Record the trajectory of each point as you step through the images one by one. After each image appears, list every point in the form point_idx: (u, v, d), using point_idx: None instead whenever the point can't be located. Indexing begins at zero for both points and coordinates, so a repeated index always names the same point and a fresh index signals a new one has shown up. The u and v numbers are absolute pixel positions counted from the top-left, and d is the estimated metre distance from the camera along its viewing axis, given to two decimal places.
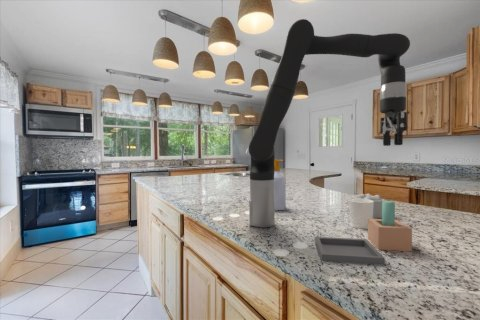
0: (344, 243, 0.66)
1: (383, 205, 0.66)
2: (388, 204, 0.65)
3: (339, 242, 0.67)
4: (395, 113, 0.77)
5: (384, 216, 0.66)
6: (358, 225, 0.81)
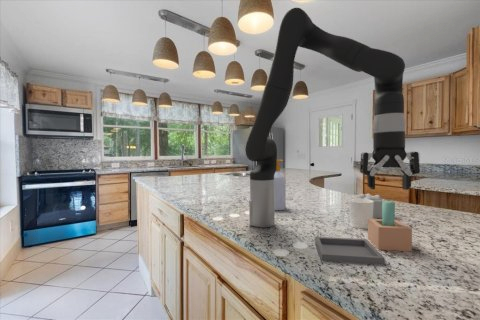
0: (344, 243, 0.66)
1: (383, 205, 0.66)
2: (388, 204, 0.65)
3: (339, 242, 0.67)
4: (405, 152, 0.64)
5: (384, 216, 0.66)
6: (358, 225, 0.81)
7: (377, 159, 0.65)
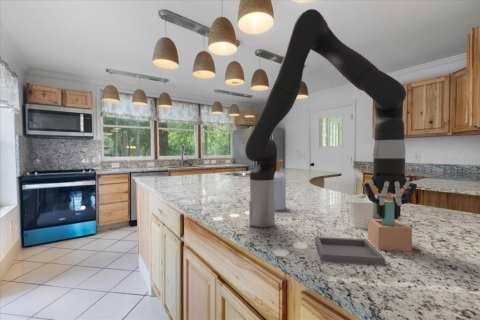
0: (344, 243, 0.66)
1: None
2: (388, 204, 0.65)
3: (339, 242, 0.67)
4: None
5: (384, 216, 0.66)
6: (358, 225, 0.81)
7: (379, 187, 0.65)
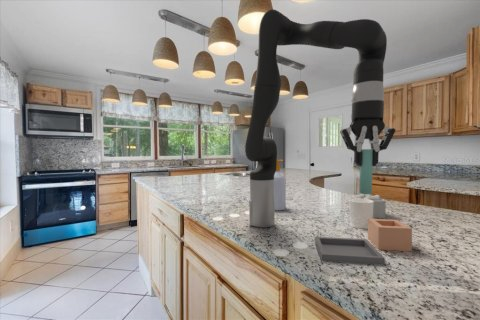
0: (344, 243, 0.66)
1: None
2: (366, 150, 0.62)
3: (339, 242, 0.67)
4: (384, 124, 0.62)
5: None
6: (358, 225, 0.81)
7: (357, 133, 0.63)
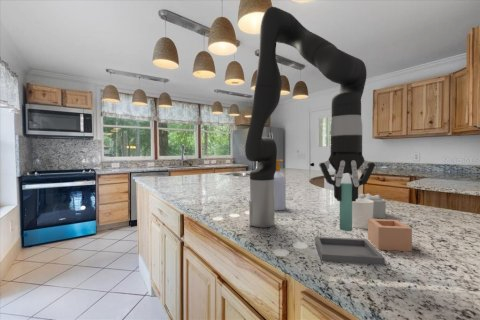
0: (344, 243, 0.66)
1: None
2: (345, 185, 0.60)
3: (339, 242, 0.67)
4: None
5: (341, 199, 0.61)
6: (358, 225, 0.81)
7: (335, 168, 0.61)
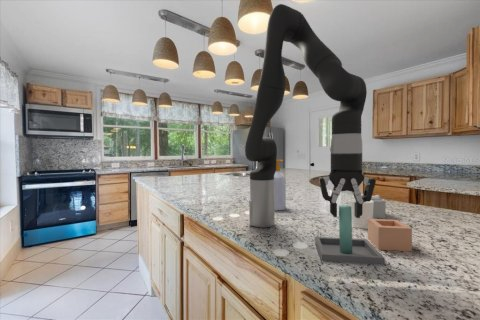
0: None
1: (339, 210, 0.61)
2: (344, 209, 0.60)
3: (339, 242, 0.67)
4: (363, 175, 0.60)
5: (340, 222, 0.61)
6: (358, 225, 0.81)
7: (334, 184, 0.61)
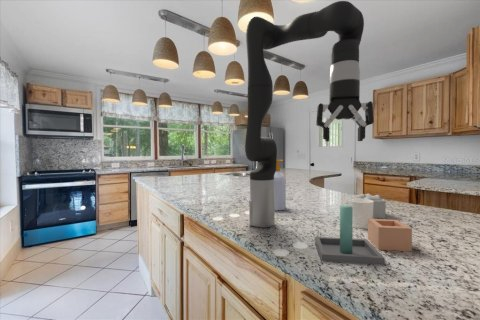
0: None
1: (340, 210, 0.61)
2: (345, 209, 0.60)
3: (339, 242, 0.67)
4: (360, 102, 0.63)
5: (341, 222, 0.61)
6: (358, 225, 0.81)
7: (332, 110, 0.64)
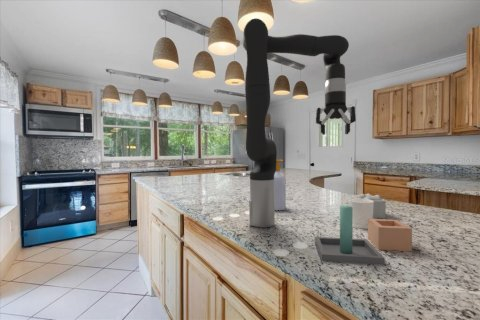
0: None
1: (340, 210, 0.61)
2: (345, 209, 0.60)
3: (339, 242, 0.67)
4: None
5: (341, 222, 0.61)
6: (358, 225, 0.81)
7: (326, 112, 0.91)
